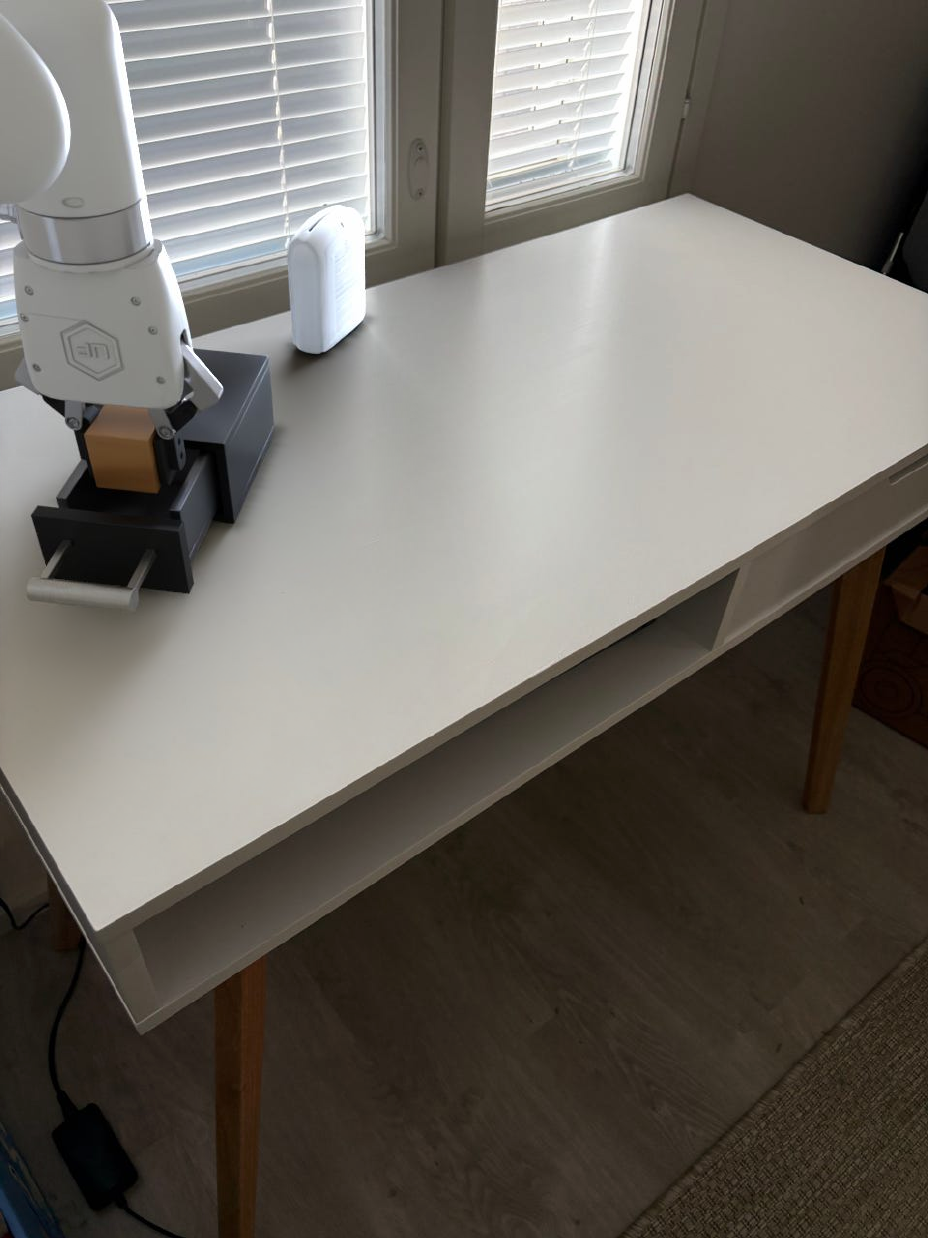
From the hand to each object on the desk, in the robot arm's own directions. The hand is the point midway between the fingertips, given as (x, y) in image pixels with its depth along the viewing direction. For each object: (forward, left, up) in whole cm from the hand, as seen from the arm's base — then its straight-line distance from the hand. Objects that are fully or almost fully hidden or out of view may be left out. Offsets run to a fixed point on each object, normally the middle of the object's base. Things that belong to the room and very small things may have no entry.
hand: (136, 468), depth 74 cm
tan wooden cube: (0, 0, 0) cm, 0 cm away
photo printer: (+35, +12, -7) cm, 37 cm away
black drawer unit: (+9, +5, -7) cm, 12 cm away
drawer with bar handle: (-3, -2, -6) cm, 7 cm away
